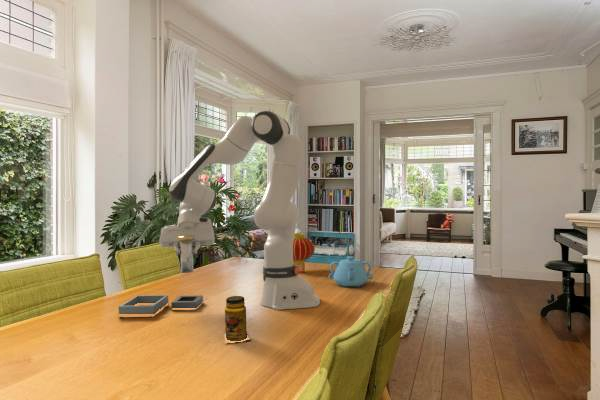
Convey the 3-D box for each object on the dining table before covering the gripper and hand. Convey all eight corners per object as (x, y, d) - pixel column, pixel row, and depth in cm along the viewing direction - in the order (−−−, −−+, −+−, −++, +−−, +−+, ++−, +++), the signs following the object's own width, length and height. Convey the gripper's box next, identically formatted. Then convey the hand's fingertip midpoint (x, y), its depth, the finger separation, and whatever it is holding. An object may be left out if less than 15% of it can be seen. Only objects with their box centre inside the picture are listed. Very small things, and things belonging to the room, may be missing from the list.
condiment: (225, 345, 108) (224, 302, 107) (222, 334, 116) (221, 294, 115) (251, 341, 110) (250, 299, 109) (246, 331, 118) (245, 292, 117)
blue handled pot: (371, 280, 181) (371, 253, 180) (375, 291, 161) (375, 261, 161) (329, 280, 183) (328, 253, 182) (328, 291, 163) (327, 261, 162)
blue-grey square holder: (203, 303, 149) (202, 295, 148) (196, 310, 140) (196, 302, 139) (179, 303, 149) (179, 295, 149) (171, 310, 140) (171, 302, 140)
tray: (168, 305, 146) (168, 295, 146) (153, 317, 132) (153, 306, 132) (137, 305, 147) (136, 295, 146) (119, 317, 133) (118, 306, 132)
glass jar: (197, 269, 147) (196, 235, 146) (192, 273, 141) (191, 237, 140) (181, 270, 147) (180, 235, 147) (176, 273, 141) (175, 237, 141)
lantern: (278, 270, 208) (277, 214, 207) (309, 267, 213) (308, 213, 212) (287, 276, 192) (285, 216, 191) (319, 274, 197) (318, 215, 196)
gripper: (160, 220, 149) (155, 249, 139) (214, 218, 152) (213, 246, 142) (162, 231, 153) (158, 259, 144) (215, 229, 156) (214, 257, 147)
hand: (186, 253), depth 143 cm, fingers closed on glass jar, 4 cm apart
